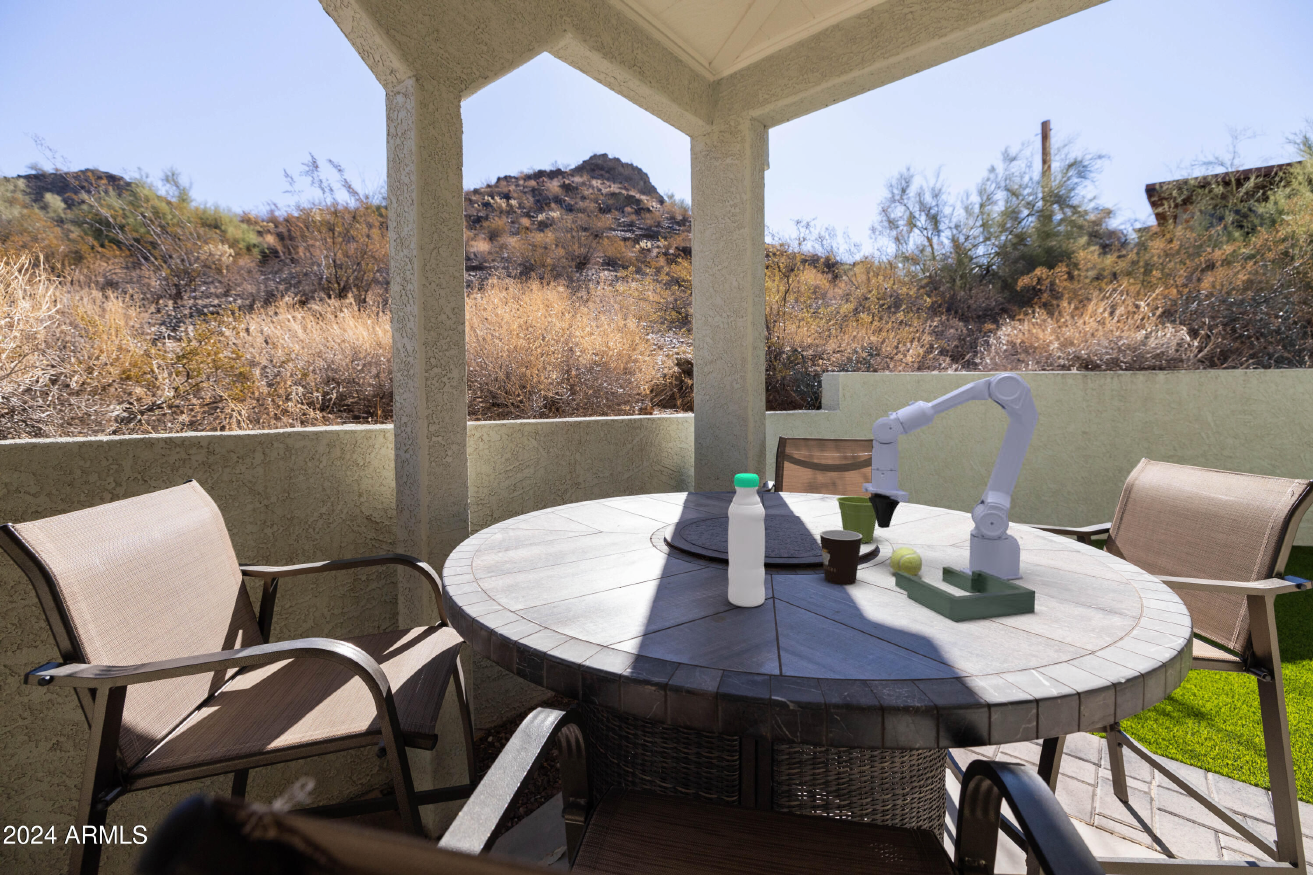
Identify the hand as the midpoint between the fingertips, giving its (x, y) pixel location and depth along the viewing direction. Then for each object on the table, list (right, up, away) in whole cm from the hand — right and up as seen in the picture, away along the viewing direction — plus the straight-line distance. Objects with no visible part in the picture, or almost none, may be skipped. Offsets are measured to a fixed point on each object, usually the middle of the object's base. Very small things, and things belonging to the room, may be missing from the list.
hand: (883, 527), depth 136 cm
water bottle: (-35, -11, -22) cm, 43 cm away
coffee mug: (-13, -10, -9) cm, 19 cm away
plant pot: (+2, -7, +23) cm, 24 cm away
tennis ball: (+2, -10, -7) cm, 12 cm away
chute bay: (+5, -11, -21) cm, 24 cm away
